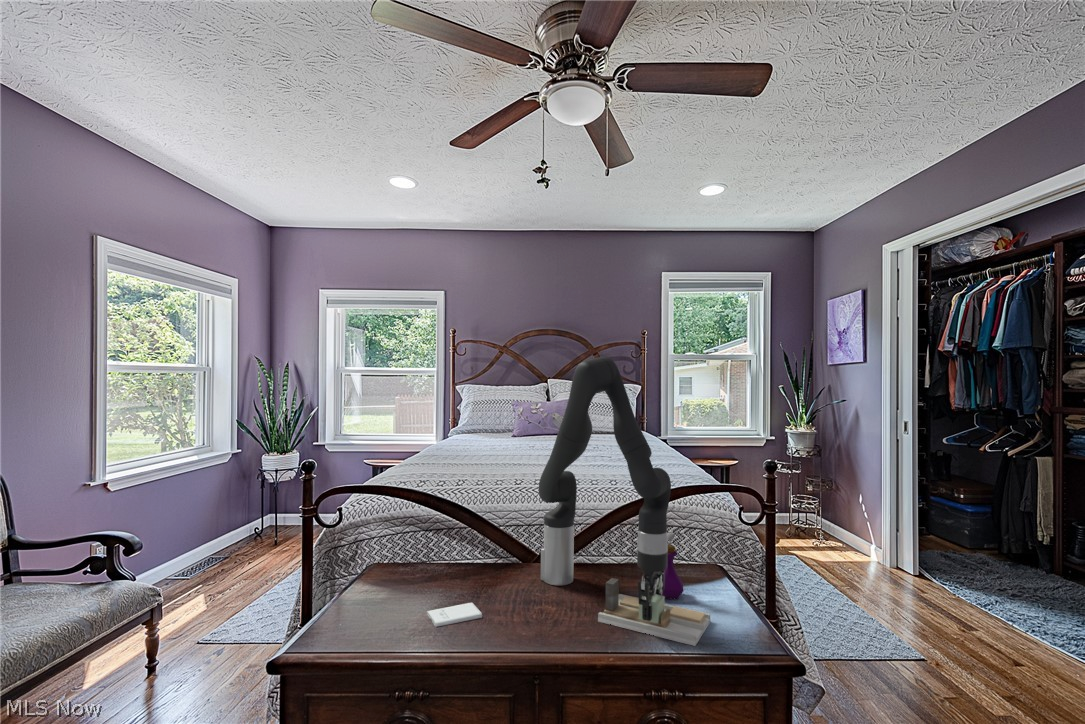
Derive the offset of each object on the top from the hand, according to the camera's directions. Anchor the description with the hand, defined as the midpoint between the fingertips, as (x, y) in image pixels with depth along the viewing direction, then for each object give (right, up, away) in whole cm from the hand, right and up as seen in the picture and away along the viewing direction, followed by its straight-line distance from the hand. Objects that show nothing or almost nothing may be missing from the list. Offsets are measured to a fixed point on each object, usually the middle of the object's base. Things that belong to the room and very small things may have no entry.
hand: (651, 614), depth 143 cm
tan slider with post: (-3, -2, +2) cm, 4 cm away
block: (0, -1, 0) cm, 1 cm away
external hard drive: (-51, -4, +6) cm, 51 cm away
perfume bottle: (+9, -4, +20) cm, 22 cm away
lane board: (+1, -3, +3) cm, 5 cm away
